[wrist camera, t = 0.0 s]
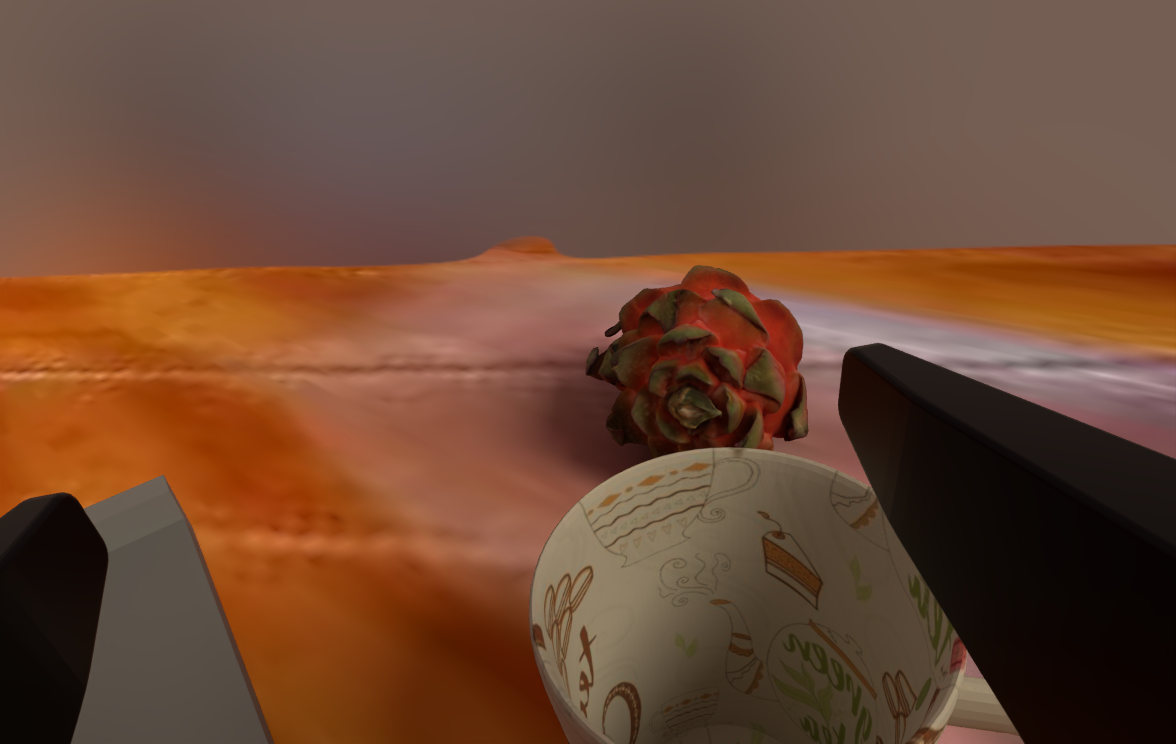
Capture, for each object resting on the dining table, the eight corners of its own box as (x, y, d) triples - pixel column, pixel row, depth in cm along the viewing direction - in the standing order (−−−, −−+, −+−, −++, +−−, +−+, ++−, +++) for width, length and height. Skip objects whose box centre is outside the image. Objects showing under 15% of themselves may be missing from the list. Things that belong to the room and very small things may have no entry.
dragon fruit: (727, 578, 30) (660, 425, 40) (907, 438, 28) (787, 317, 39) (577, 449, 26) (548, 320, 37) (771, 280, 25) (681, 196, 35)
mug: (611, 669, 25) (581, 433, 19) (1037, 732, 22) (1150, 475, 16) (542, 973, 19) (466, 750, 13) (1134, 1120, 16) (1377, 915, 10)
